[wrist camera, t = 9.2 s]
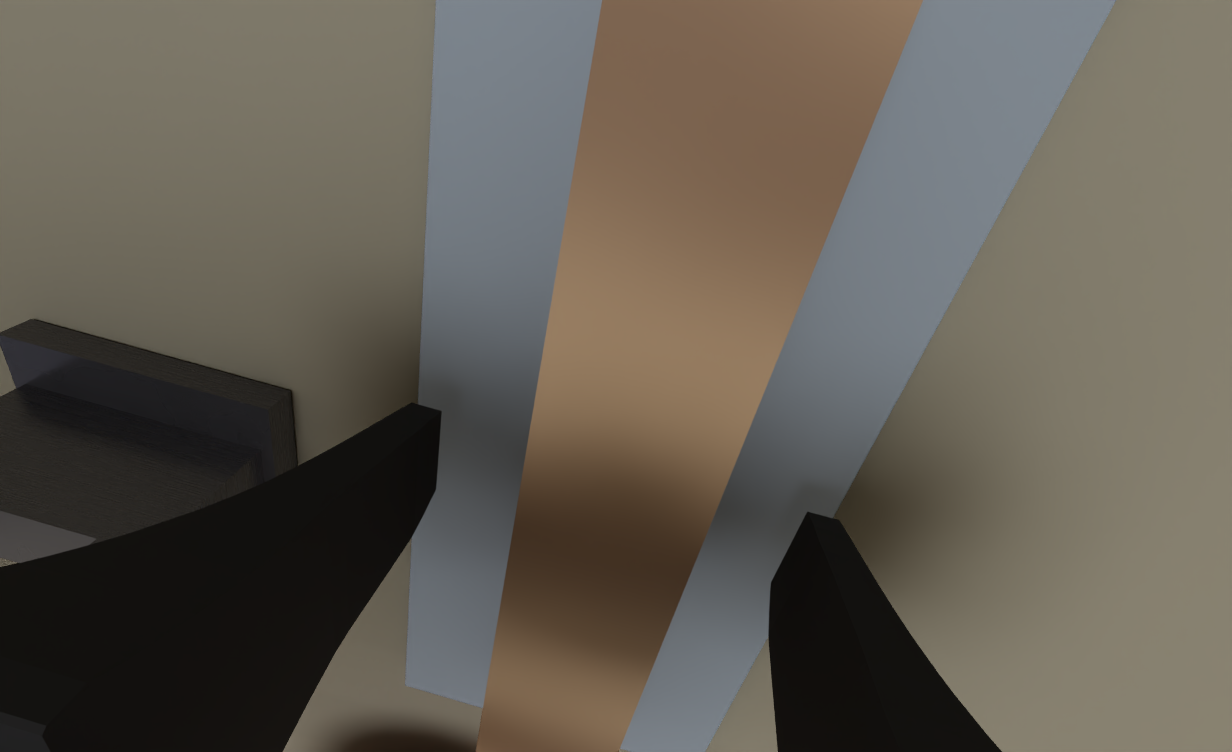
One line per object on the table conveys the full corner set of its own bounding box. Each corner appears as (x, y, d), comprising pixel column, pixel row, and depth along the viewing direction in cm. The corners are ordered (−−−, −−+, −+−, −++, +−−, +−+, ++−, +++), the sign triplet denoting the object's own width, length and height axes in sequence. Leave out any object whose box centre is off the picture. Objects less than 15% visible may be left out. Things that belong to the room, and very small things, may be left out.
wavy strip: (608, 712, 18) (586, 831, 15) (507, 683, 18) (467, 796, 15) (878, -28, 8) (942, -48, 6) (658, -82, 8) (623, -126, 6)
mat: (695, 753, 19) (694, 770, 18) (412, 670, 19) (405, 685, 19) (1151, -102, 8) (1175, -109, 7) (463, -261, 8) (448, -277, 8)
